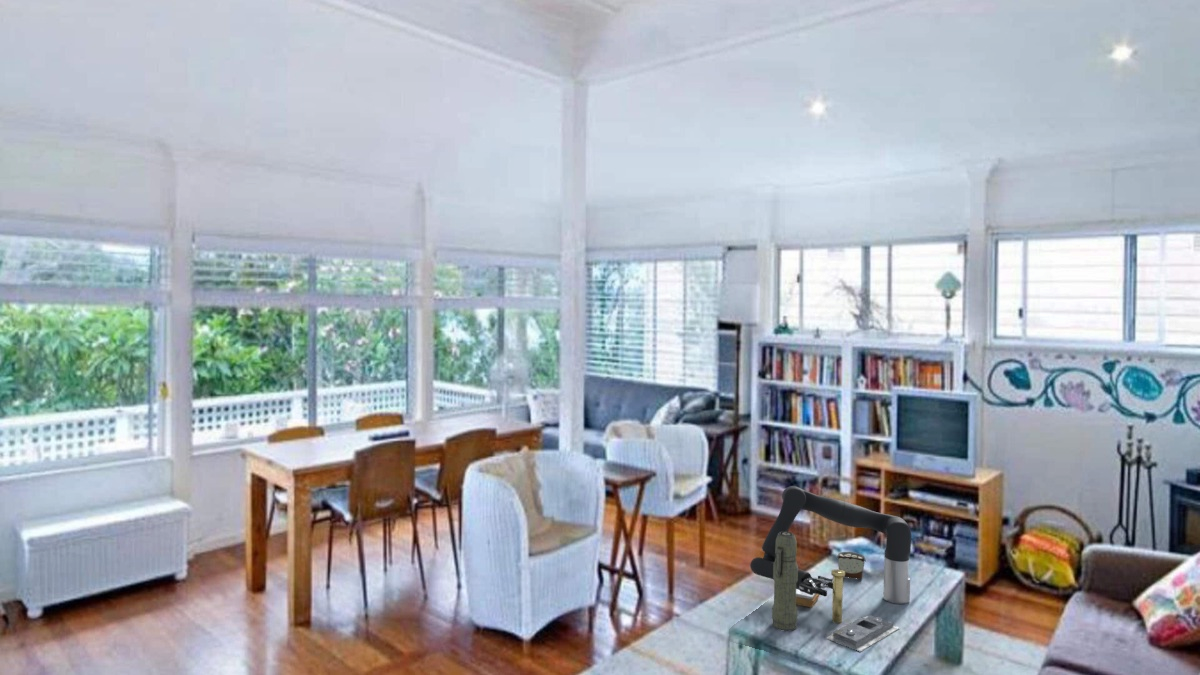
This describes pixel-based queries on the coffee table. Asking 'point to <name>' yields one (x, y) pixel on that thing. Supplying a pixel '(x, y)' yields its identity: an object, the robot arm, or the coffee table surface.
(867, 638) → the bolted mounting plate
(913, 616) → the coffee table surface
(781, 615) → the thermos
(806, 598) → the soap dish
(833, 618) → the brass pin
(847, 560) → the food container
